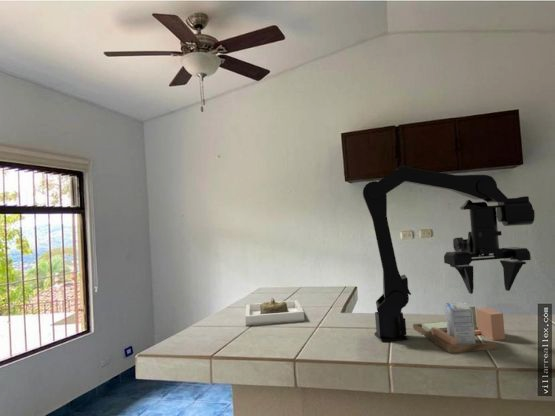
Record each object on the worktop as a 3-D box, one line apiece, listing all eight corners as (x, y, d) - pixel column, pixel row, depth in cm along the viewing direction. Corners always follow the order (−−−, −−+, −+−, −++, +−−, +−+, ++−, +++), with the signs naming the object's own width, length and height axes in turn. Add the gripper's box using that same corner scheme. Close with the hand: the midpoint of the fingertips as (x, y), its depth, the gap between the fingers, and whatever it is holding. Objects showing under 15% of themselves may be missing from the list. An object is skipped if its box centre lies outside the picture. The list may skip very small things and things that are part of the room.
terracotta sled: (452, 350, 88) (450, 323, 88) (432, 337, 98) (430, 312, 99) (516, 344, 89) (514, 317, 89) (489, 332, 99) (487, 307, 99)
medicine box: (476, 348, 89) (473, 309, 89) (455, 348, 90) (452, 309, 90) (466, 337, 96) (464, 301, 97) (447, 337, 97) (444, 302, 98)
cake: (286, 319, 125) (284, 302, 125) (255, 320, 127) (254, 303, 127) (291, 309, 135) (289, 293, 135) (262, 310, 137) (261, 295, 137)
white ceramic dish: (245, 325, 121) (245, 316, 121) (246, 312, 139) (246, 304, 139) (304, 320, 122) (303, 311, 122) (297, 308, 140) (297, 300, 140)
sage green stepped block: (430, 334, 100) (428, 311, 100) (422, 329, 105) (420, 306, 105) (478, 330, 101) (476, 307, 101) (467, 325, 106) (465, 302, 106)
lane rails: (449, 353, 87) (449, 347, 87) (413, 328, 106) (412, 324, 106) (497, 348, 87) (496, 343, 87) (452, 325, 107) (451, 320, 107)
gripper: (500, 224, 105) (505, 283, 104) (431, 229, 104) (436, 289, 103) (529, 224, 94) (535, 291, 93) (453, 230, 92) (458, 297, 92)
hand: (489, 291), depth 96 cm, fingers open, 9 cm apart
